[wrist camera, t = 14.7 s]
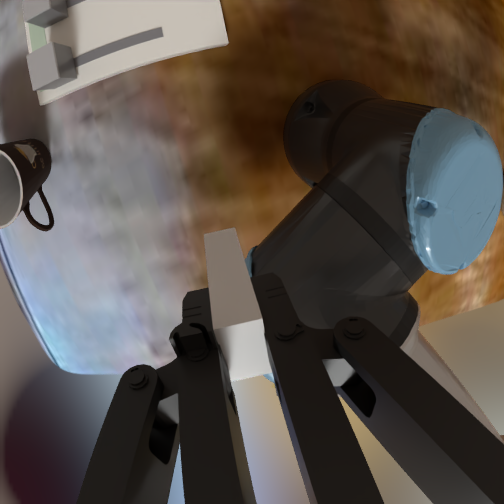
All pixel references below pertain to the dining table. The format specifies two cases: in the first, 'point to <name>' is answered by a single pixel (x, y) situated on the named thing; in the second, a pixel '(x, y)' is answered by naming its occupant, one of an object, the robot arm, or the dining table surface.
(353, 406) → the robot arm
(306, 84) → the dining table surface
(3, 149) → the coffee mug
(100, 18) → the panel
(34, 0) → the block
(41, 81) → the block
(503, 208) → the canister
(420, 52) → the dining table surface
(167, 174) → the dining table surface
